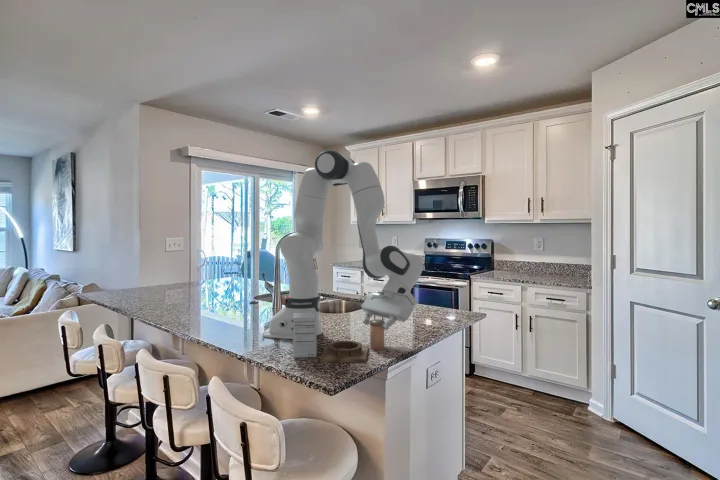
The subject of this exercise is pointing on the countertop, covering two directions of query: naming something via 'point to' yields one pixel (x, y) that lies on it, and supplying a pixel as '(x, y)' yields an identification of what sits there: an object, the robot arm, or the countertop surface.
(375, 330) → the spice jar
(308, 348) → the supplement box
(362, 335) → the countertop surface
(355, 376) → the countertop surface
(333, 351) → the jar stand
